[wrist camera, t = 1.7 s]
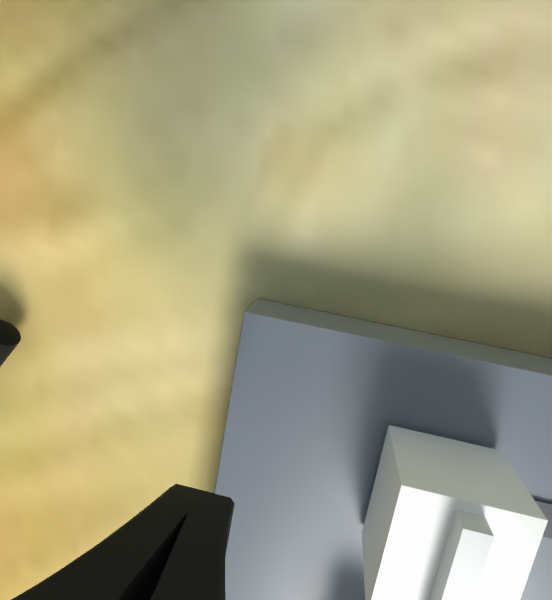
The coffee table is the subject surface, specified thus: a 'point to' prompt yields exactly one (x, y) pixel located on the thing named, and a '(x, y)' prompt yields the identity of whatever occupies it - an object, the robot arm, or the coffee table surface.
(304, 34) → the coffee table surface
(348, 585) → the switch panel
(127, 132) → the coffee table surface
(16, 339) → the handheld radio
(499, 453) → the tab
